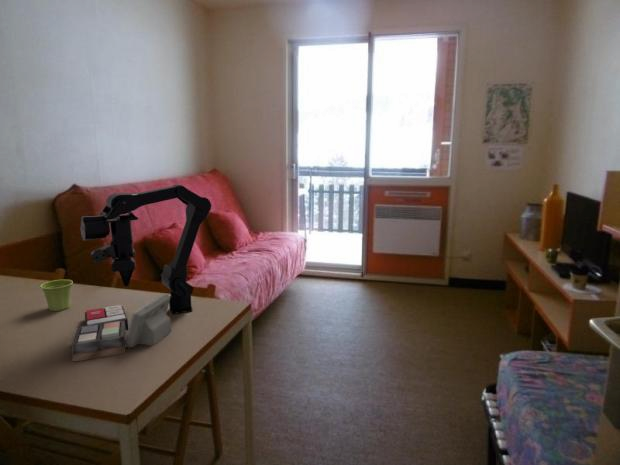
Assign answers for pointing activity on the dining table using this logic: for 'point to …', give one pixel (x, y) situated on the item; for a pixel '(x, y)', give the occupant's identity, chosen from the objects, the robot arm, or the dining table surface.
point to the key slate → (89, 329)
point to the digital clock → (149, 323)
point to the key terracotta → (112, 325)
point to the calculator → (106, 315)
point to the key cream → (87, 337)
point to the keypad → (99, 344)
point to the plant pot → (57, 294)
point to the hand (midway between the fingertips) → (126, 285)
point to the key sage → (110, 332)
